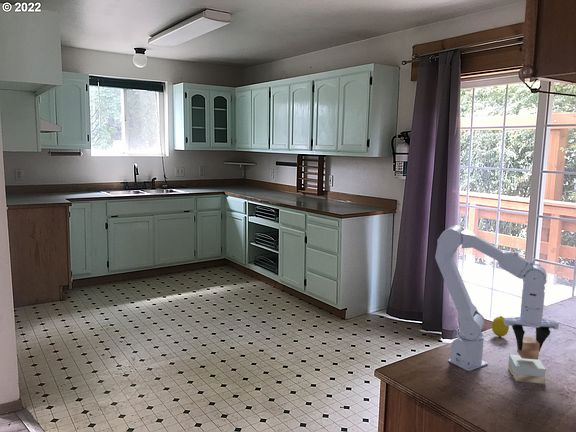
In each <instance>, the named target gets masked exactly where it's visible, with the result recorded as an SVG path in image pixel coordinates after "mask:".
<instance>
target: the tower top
mask: <svg viewBox="0 0 576 432" xmlns="http://www.w3.org/2000/svg"><path fill="white" fill-rule="evenodd" d="M509 363H510V365H511V367H512V369H513V371H514V373H515V374H520V375H529V376H538V377H546V368H545V366H544V365H543V363H542V362H541V360H540V358H538V360H536V359H524V358H521V356H520V355H519V354H510V353H509V356H508V364H509Z"/></svg>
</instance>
